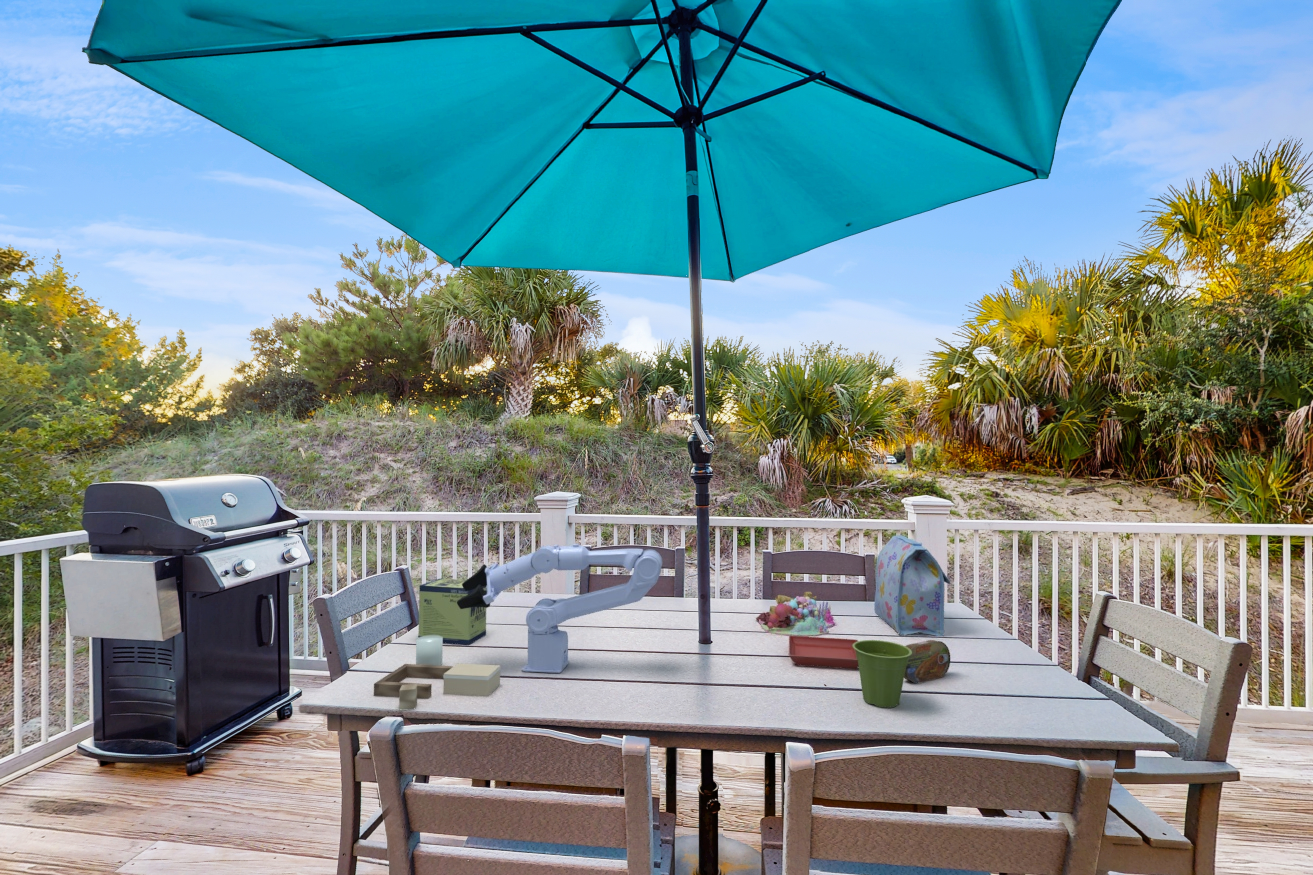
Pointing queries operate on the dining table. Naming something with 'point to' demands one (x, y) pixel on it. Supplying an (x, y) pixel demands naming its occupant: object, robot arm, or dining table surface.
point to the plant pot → (881, 670)
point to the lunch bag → (910, 588)
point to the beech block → (408, 696)
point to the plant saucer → (823, 652)
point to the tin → (927, 661)
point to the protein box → (449, 613)
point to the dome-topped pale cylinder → (429, 650)
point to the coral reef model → (797, 617)
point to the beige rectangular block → (471, 679)
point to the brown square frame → (392, 681)
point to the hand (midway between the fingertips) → (461, 596)
